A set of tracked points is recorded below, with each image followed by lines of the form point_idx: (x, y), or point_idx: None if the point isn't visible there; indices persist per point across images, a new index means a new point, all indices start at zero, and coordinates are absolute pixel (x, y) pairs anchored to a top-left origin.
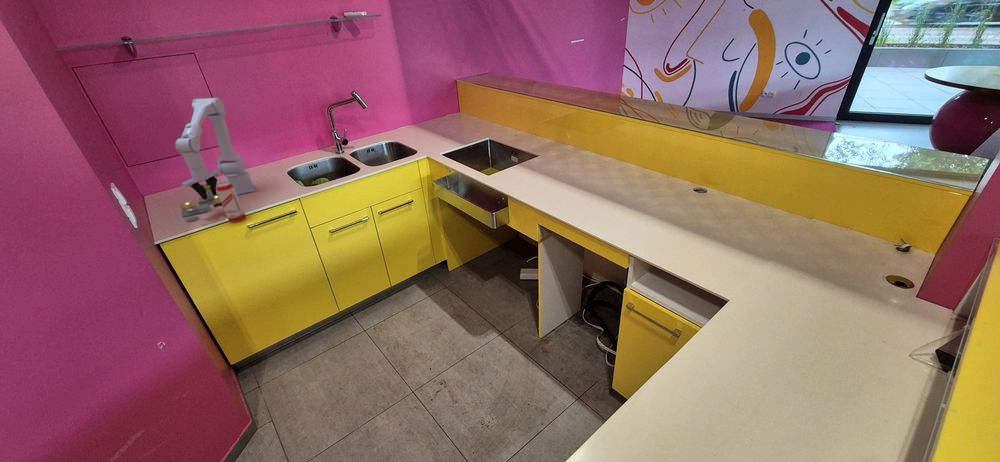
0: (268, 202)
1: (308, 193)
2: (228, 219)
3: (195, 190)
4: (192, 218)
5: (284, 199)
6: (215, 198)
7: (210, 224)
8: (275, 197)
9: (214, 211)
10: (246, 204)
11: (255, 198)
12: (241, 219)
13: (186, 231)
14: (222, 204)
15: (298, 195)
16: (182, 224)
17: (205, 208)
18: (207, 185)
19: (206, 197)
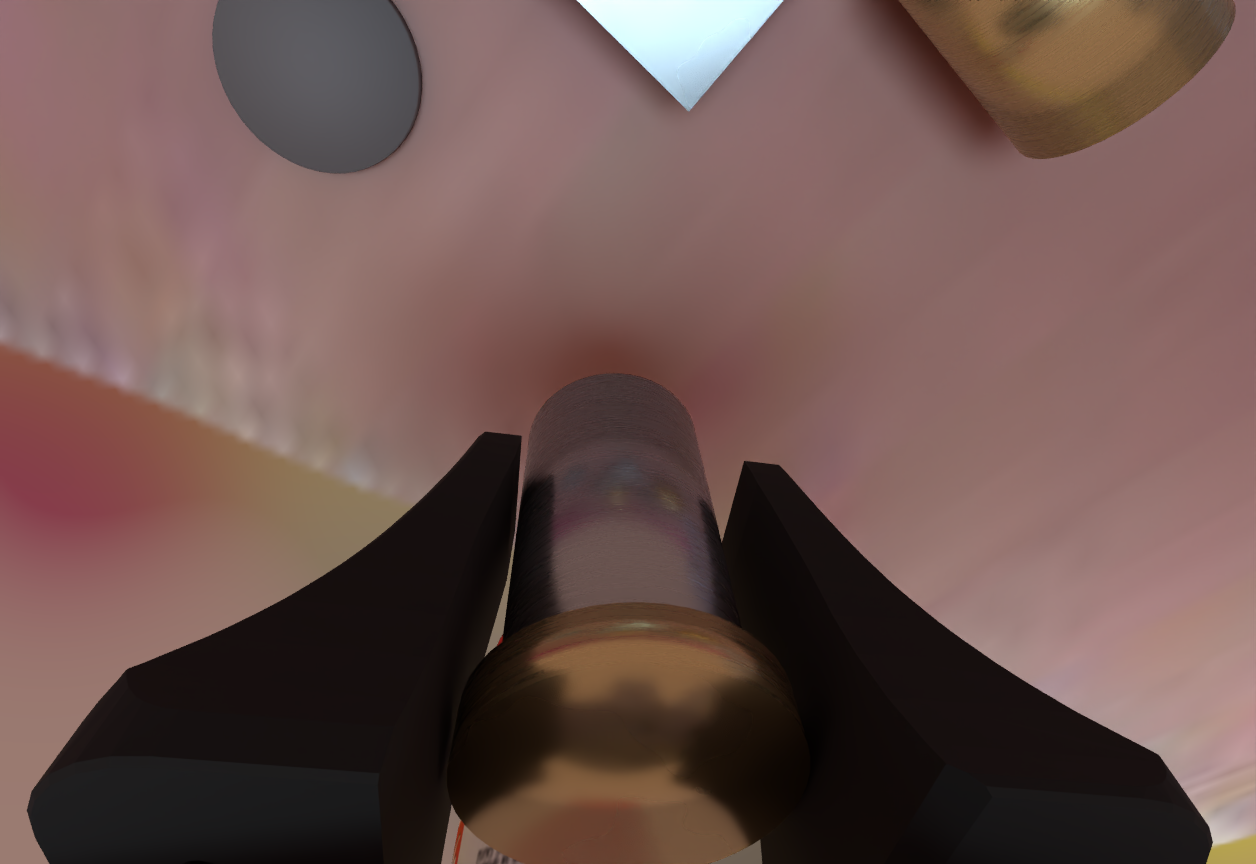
0: (1016, 661)
1: (1210, 831)
2: (499, 640)
3: (331, 585)
4: (324, 61)
5: None
6: (997, 40)
7: (359, 485)
8: (1161, 645)
9: (687, 189)
10: (965, 476)
11: (1173, 449)
12: None
13: (69, 350)
14: (457, 857)
15: None
16: (121, 48)
17: (643, 61)
18: (647, 842)
19: (507, 565)
